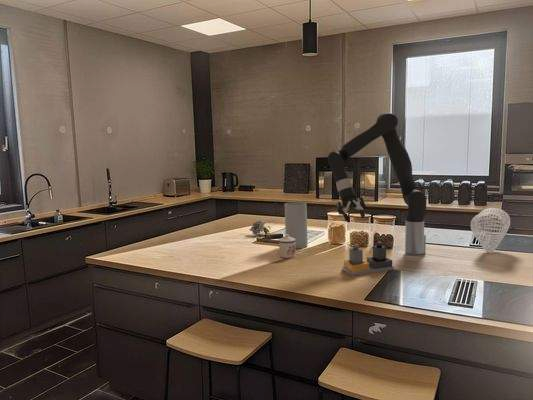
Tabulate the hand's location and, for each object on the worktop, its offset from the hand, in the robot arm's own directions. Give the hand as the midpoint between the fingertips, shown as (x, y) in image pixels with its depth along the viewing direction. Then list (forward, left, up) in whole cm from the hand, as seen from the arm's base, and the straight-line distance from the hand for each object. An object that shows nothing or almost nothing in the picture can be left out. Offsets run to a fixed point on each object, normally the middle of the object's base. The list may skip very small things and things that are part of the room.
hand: (355, 219), depth 206 cm
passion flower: (+29, -78, -21) cm, 86 cm away
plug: (+7, +13, -20) cm, 25 cm away
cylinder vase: (+17, -40, -21) cm, 49 cm away
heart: (-68, +13, -21) cm, 73 cm away
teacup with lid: (+27, -24, -21) cm, 42 cm away
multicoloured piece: (+1, +14, -21) cm, 25 cm away
